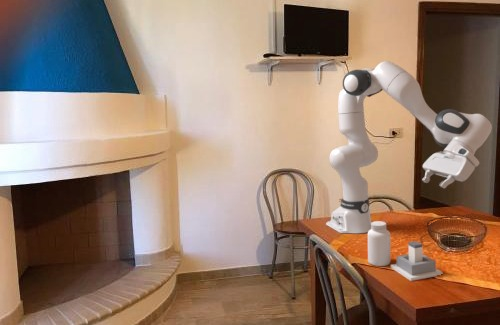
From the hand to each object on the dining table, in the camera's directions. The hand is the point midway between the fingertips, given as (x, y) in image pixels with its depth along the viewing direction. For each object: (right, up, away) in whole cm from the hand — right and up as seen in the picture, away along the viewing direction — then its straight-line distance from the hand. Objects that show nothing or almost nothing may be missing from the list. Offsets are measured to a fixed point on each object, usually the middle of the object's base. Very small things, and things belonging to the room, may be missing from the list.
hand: (432, 184), depth 154 cm
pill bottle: (-17, -29, +5) cm, 34 cm away
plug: (-8, -29, -4) cm, 30 cm away
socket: (-8, -30, -4) cm, 31 cm away
